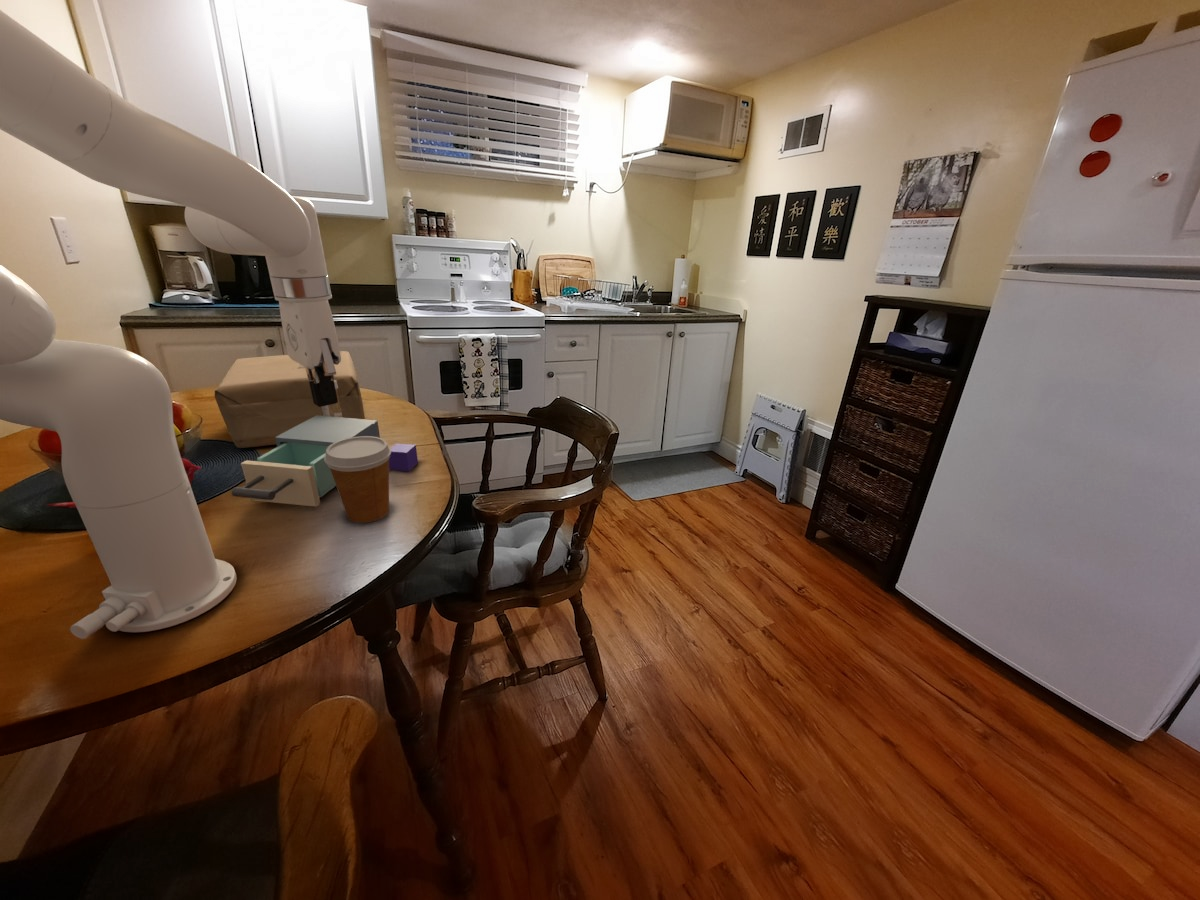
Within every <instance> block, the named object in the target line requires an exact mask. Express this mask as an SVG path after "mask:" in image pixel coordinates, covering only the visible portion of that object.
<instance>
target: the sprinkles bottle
mask: <svg viewBox="0 0 1200 900" xmlns="http://www.w3.org/2000/svg"><path fill="white" fill-rule="evenodd" d="M334 384H335V389H336V394H337V399H338V396H339V395H338V390H337V389H338V384H337V381H336V380H334ZM321 408H322V412H323V415H324V416H331V417H342V412H341V408H340V404H339V399H338V402H337V403H336V404H331V405H327V406H322V407H321Z"/></svg>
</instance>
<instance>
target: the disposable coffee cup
mask: <svg viewBox="0 0 1200 900" xmlns="http://www.w3.org/2000/svg"><path fill="white" fill-rule="evenodd" d="M390 455H391V447H390V446H389V444H388V442H387V441H386V440H385V439H384V438H381V437H380V438H379V437H373V436H359V437H351V438H346V439H342V440H340V441H337V442H335V443H333V444H331V445H330V446H329V447H327V449H326V455H325V457H324V461H325V463H326V464H327V465H328V467H330V470H331V473H332V475H333V478H334V481H335V484H336V486H335V487H336V489H337V492H338V495H339V498H340V500H341V504H342V505H343V509H344V511H345V514H346V516H347V520H349V521H350V522H352V523H356V524H357V523H359V524H365V523H366V524H367V523H372V522H375V521H378V520H380V519H383V518H384V517H386V516H387V514H388V513H389V512H390V470H389V458H390Z"/></svg>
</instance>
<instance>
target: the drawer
mask: <svg viewBox="0 0 1200 900" xmlns="http://www.w3.org/2000/svg"><path fill="white" fill-rule="evenodd" d="M327 447H329V446H321V445H310V444H299V443H288V442H285V443H284V444H282V445H280V446H278V447H277V446H276V447H275V448H273V449H271V450H269V451H268V452H265V453H264V454H262V455H261V456H258V457H257V458H256V460H248V459H246V460H244V461H243V462H240V466H241V469H242V473H243V476H244V480H245V484H244V485H242V486H240V487H237V486H236V487H233V488H232V489H231V495H232V496H233V497H237V498H244V499H245V498H246V499H250V501H257V502H268V503H277V504H285V505H286V504H288V505H295V506H307V507H318V506H319V505H320V504H321V499H320V498H322V497H324V496H325V495H326V494H327V493H328V492H330V491H331V490H333V489H334V488H335V487H337V486H336V484H335V481H334V478H333V475H332V473H331V470H330V467H328V465H327V464H326V463H325V461H324V457H325V455H326V449H327Z"/></svg>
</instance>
